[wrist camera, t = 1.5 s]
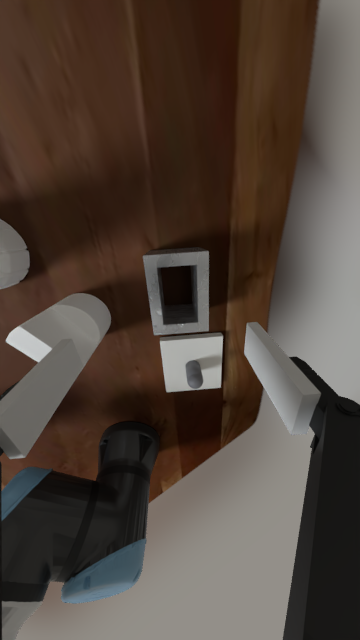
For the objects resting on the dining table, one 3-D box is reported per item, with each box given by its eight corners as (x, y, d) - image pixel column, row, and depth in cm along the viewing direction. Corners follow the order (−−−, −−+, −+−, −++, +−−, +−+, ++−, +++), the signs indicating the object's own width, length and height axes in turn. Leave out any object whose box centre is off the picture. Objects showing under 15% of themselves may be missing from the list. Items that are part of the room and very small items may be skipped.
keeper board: (219, 382, 42) (228, 408, 36) (166, 387, 42) (165, 414, 35) (220, 332, 36) (231, 353, 30) (160, 337, 36) (158, 359, 30)
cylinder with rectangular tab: (121, 318, 34) (98, 357, 23) (90, 346, 36) (56, 394, 25) (80, 282, 31) (31, 307, 20) (49, 315, 33) (-10, 354, 22)
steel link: (200, 310, 34) (208, 330, 27) (157, 313, 34) (154, 335, 27) (199, 247, 30) (208, 251, 22) (149, 250, 29) (142, 255, 22)
